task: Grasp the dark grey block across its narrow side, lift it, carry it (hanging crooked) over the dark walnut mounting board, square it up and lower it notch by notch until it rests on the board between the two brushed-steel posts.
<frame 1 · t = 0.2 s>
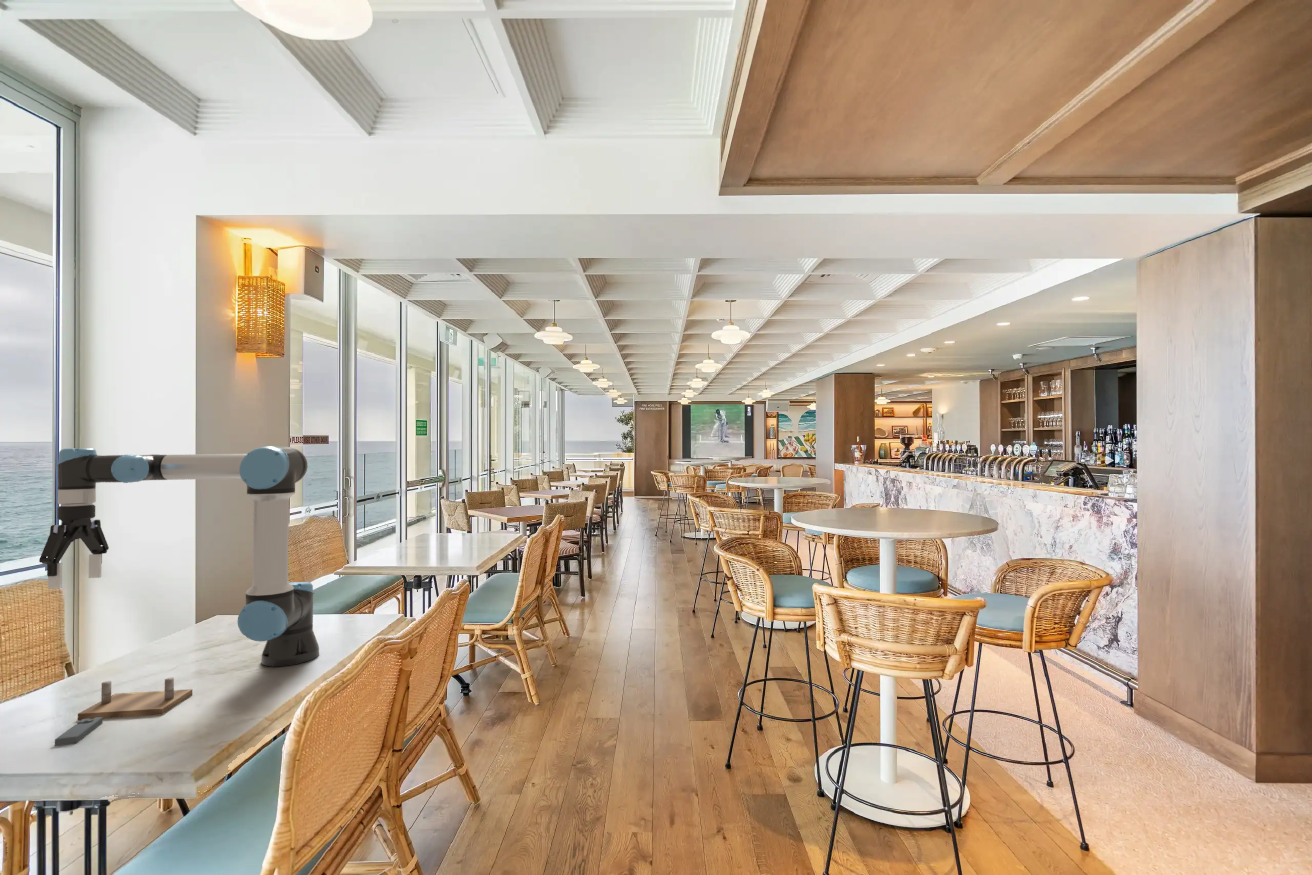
hand: (75, 582, 165), 28 cm above the table, fingers open, 13 cm apart
dark grey block: (79, 736, 136), on the table
mount: (137, 706, 151), on the table
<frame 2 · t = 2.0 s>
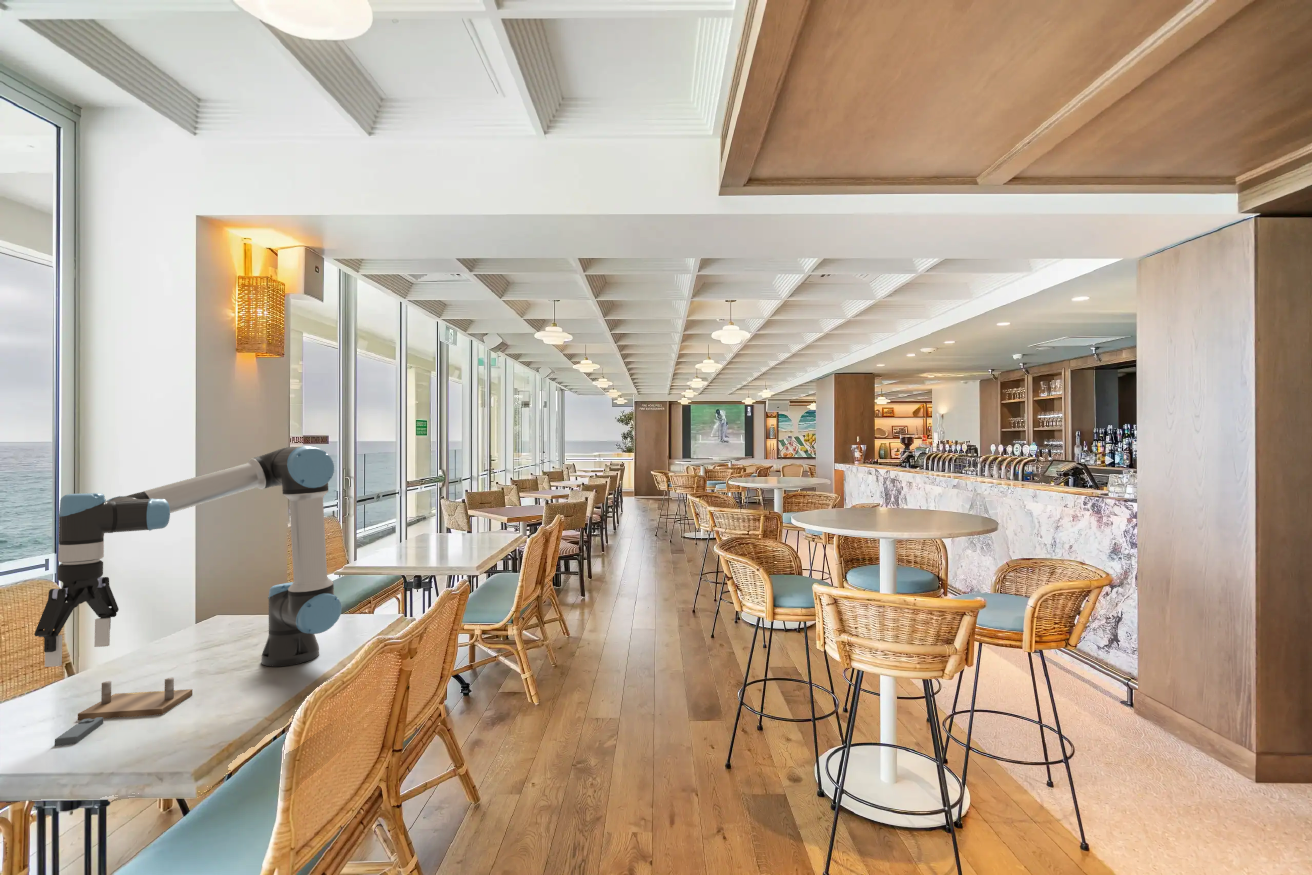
hand: (78, 655, 137), 17 cm above the table, fingers open, 13 cm apart
nothing on the table moved.
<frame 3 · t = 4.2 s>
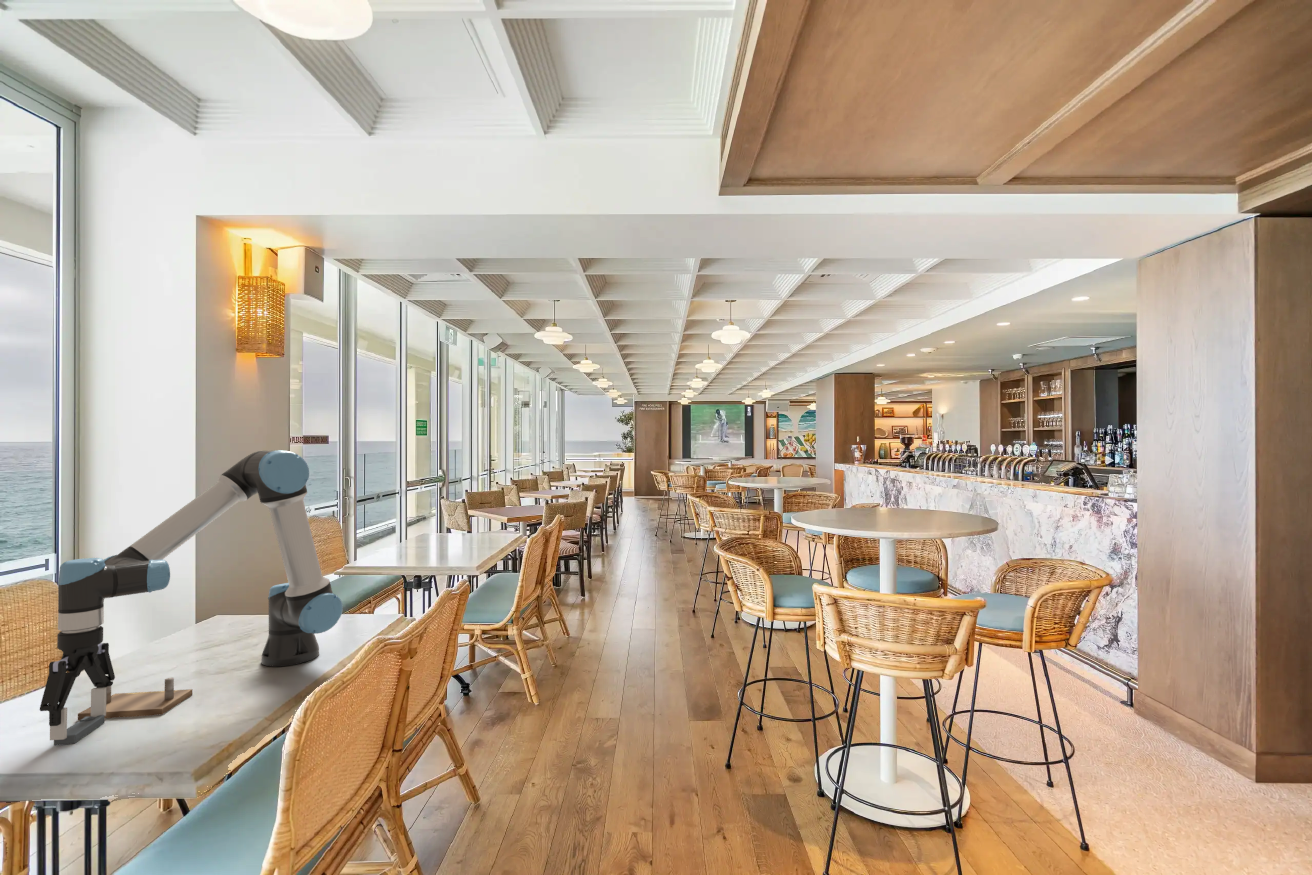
hand: (79, 727, 136), 2 cm above the table, fingers closed on dark grey block, 11 cm apart
dark grey block: (80, 734, 136), on the table, touching gripper
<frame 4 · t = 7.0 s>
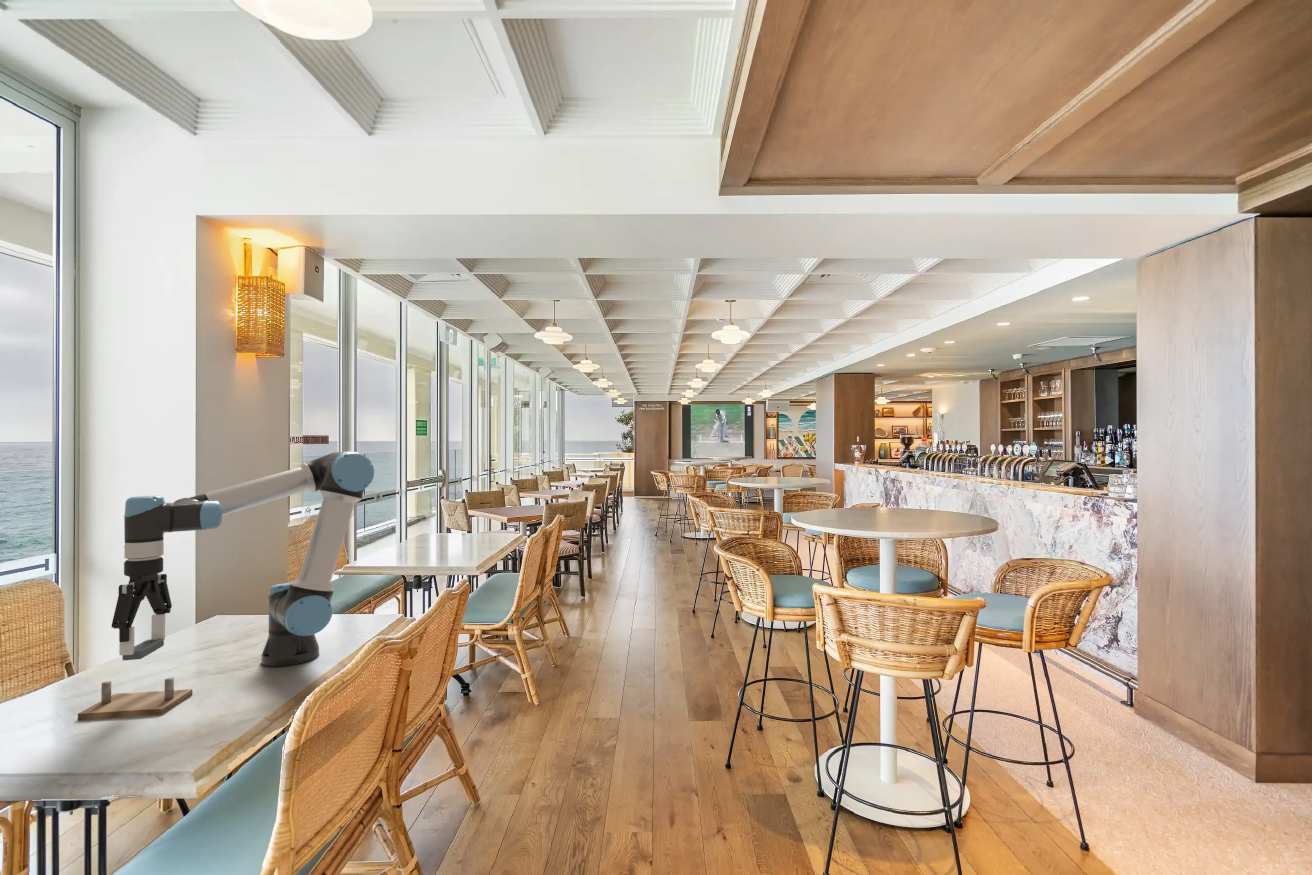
hand: (143, 646, 151), 15 cm above the table, fingers closed on dark grey block, 11 cm apart
dark grey block: (143, 653, 151), point 13 cm above the table, touching gripper
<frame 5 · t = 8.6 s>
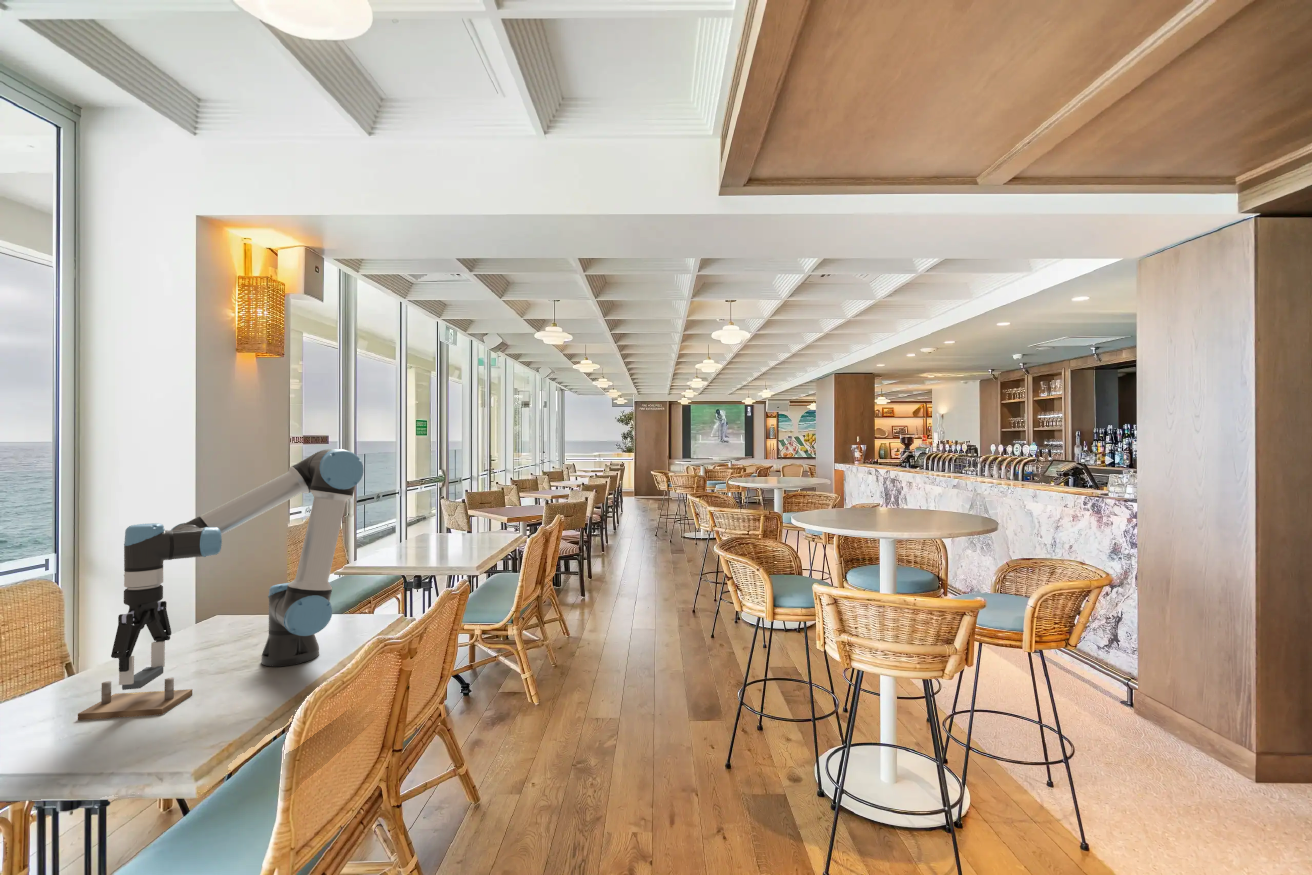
hand: (142, 675, 151), 8 cm above the table, fingers closed on dark grey block, 11 cm apart
dark grey block: (143, 682, 151), point 6 cm above the table, touching gripper
when the fingers open (3 cm above the table, at t = 10.1 s): dark grey block stays where it is, resting on mount.
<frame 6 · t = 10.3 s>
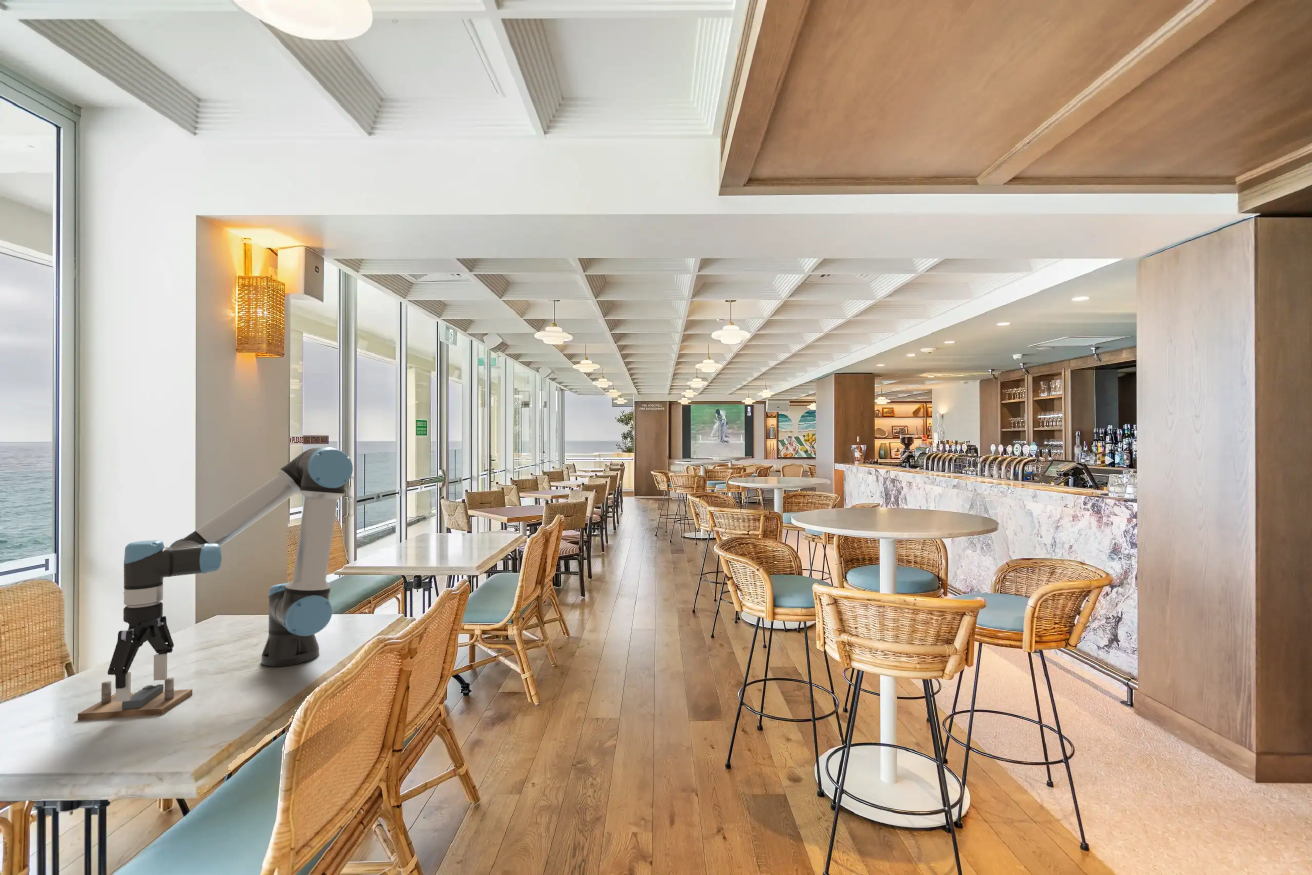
hand: (142, 689, 151), 4 cm above the table, fingers open, 13 cm apart
dark grey block: (143, 701, 151), point 1 cm above the table, touching mount
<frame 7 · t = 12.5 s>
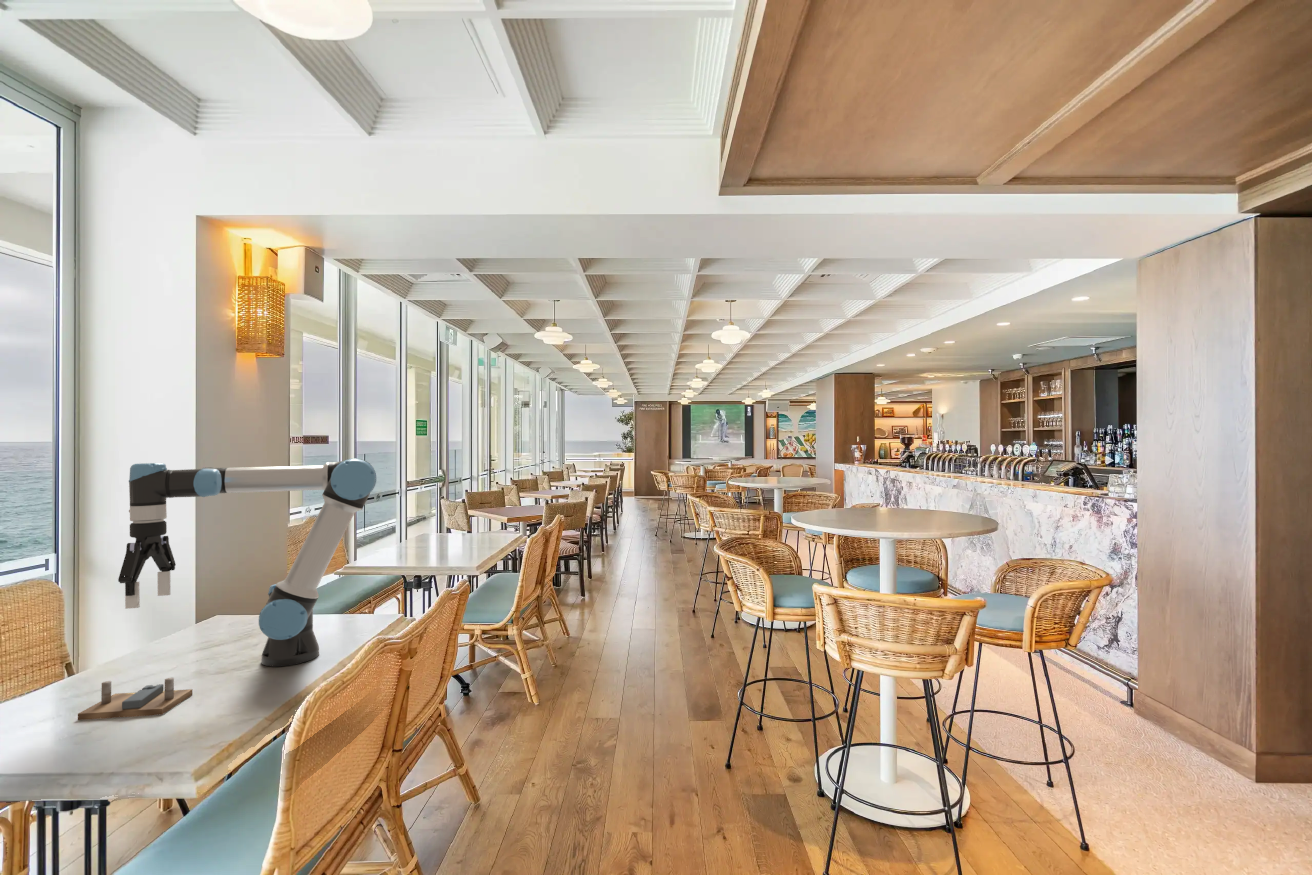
hand: (148, 601, 161), 24 cm above the table, fingers open, 13 cm apart
nothing on the table moved.
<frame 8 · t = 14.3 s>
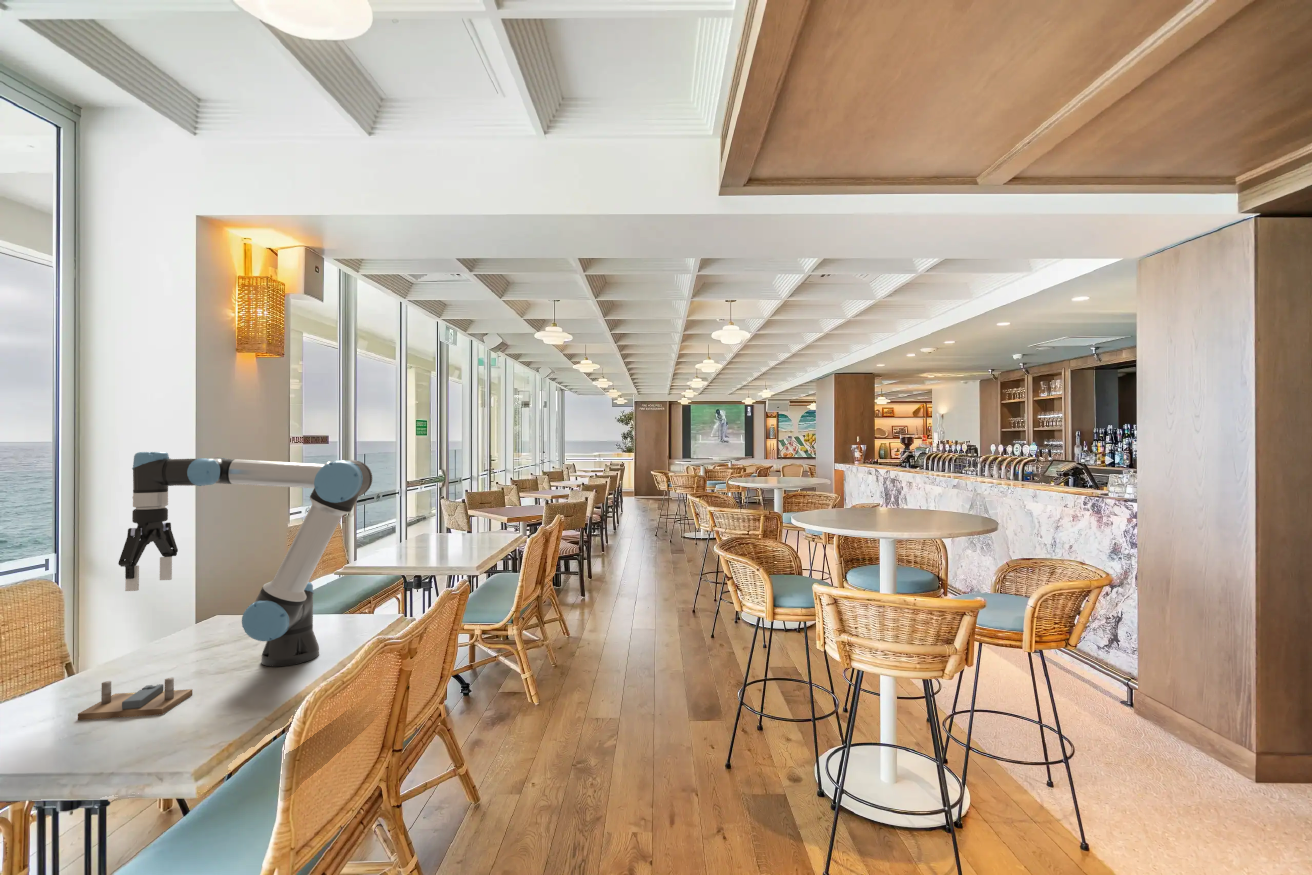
hand: (149, 585, 167), 27 cm above the table, fingers open, 13 cm apart
nothing on the table moved.
at the end: dark grey block inside the target area on the mount (1.2 cm from its centre), point 1.3 cm above the mount's base; dark grey block touching mount; the gripper is holding nothing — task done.
